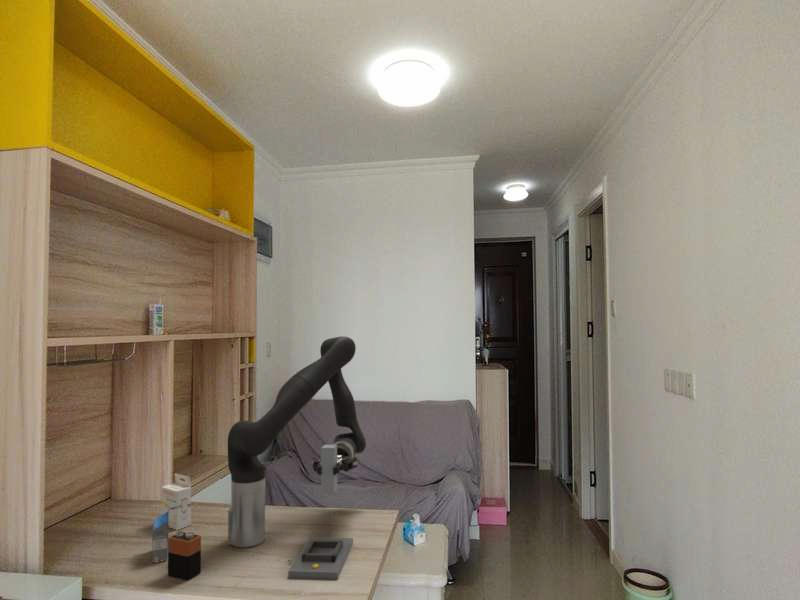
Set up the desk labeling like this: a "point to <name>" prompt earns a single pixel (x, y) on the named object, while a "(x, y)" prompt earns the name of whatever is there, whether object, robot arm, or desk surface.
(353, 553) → the desk surface
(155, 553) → the label tape cartridge
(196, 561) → the battery
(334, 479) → the plug
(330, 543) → the power dock
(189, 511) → the ink cartridge box
